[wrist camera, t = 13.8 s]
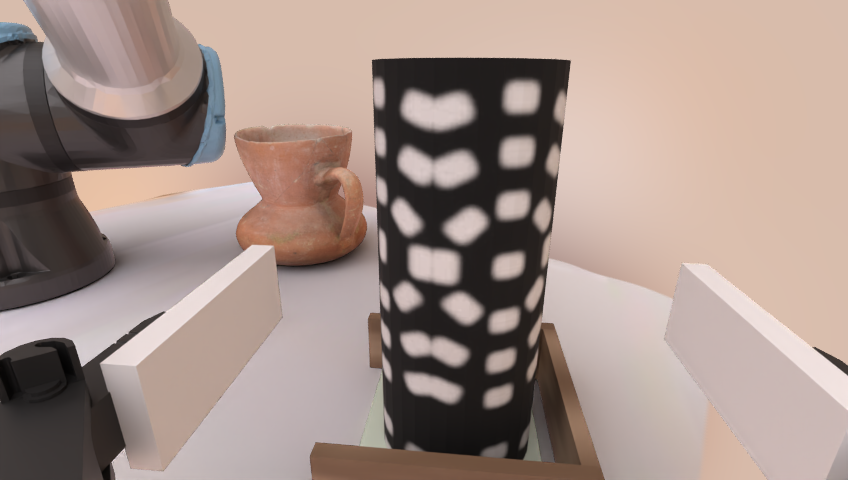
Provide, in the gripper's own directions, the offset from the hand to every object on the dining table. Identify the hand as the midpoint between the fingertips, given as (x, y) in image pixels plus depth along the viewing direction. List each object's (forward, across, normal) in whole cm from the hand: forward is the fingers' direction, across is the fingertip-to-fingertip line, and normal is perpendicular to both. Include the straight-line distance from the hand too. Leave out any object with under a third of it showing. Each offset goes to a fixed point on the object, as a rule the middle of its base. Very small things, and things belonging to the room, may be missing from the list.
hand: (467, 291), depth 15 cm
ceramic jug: (+34, -18, -13) cm, 40 cm away
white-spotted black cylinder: (+7, 0, -13) cm, 15 cm away
